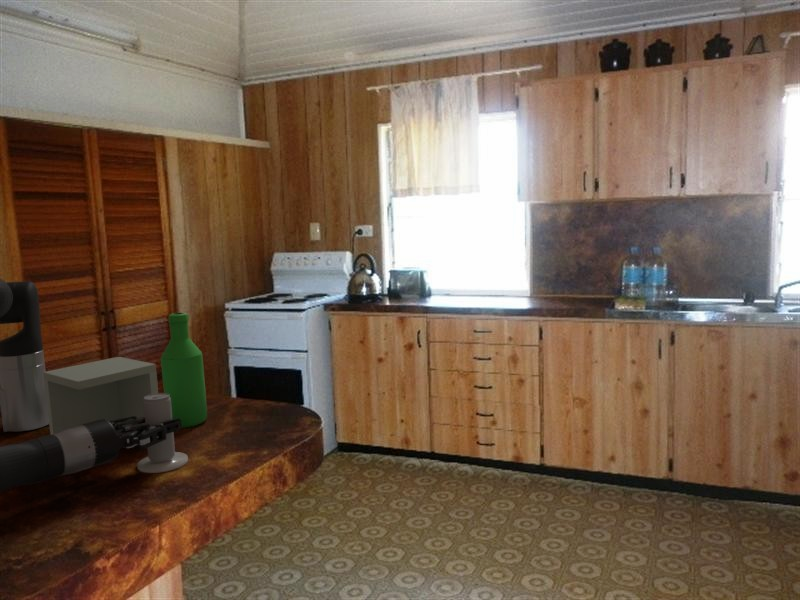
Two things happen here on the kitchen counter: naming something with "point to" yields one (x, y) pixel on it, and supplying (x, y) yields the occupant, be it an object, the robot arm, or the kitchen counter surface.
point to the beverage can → (157, 412)
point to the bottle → (184, 374)
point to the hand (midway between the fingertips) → (171, 420)
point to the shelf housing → (98, 391)
